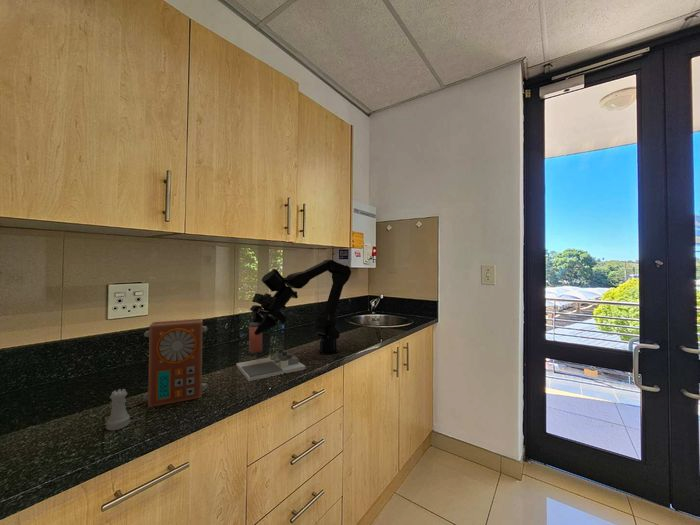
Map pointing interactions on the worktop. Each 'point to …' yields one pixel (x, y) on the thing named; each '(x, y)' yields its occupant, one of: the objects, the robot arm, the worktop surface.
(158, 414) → the worktop surface
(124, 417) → the rook chess piece
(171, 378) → the control panel
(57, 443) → the worktop surface
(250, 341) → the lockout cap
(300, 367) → the breaker board
